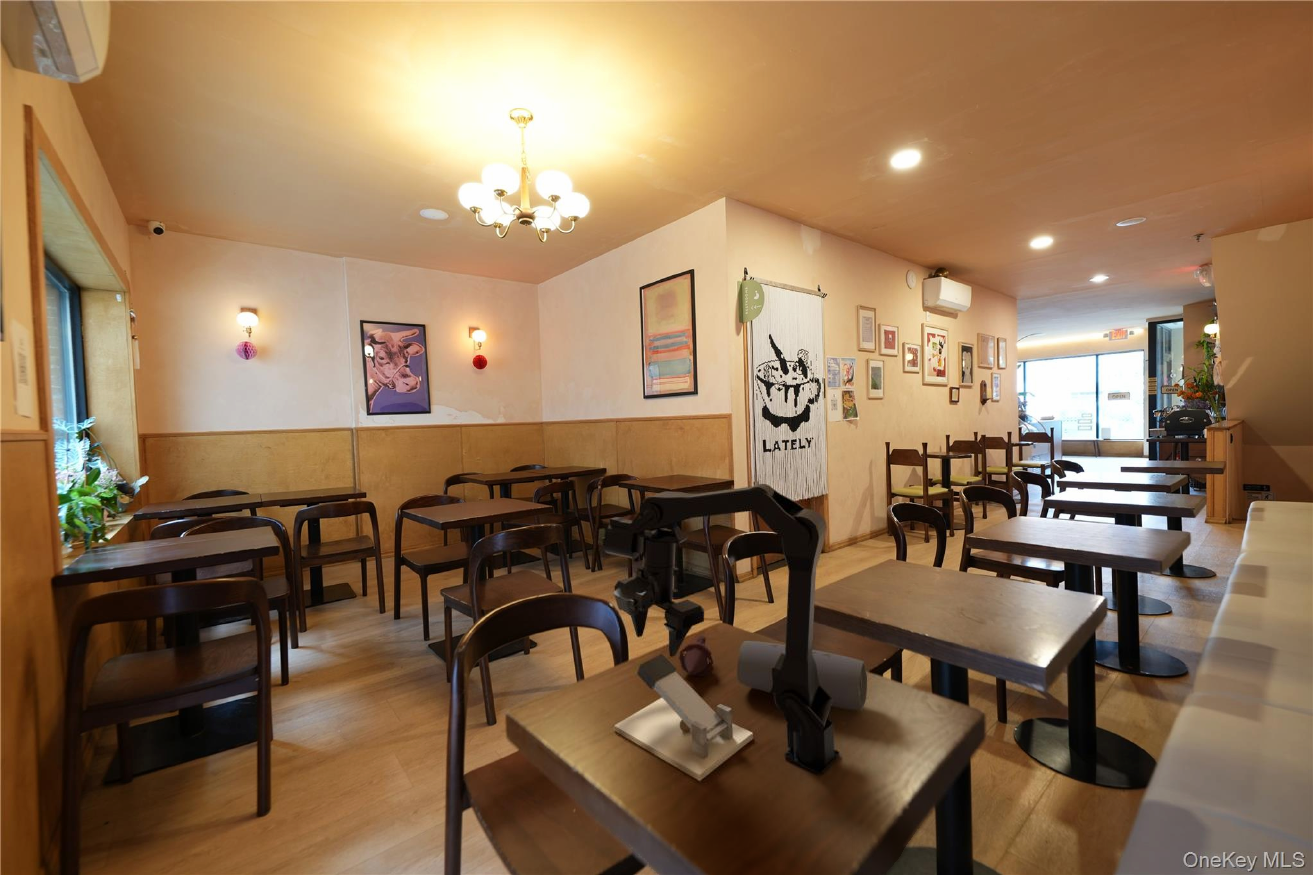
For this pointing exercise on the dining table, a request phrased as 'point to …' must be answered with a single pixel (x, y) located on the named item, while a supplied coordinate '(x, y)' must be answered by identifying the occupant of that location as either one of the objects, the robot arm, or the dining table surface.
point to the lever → (680, 695)
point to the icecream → (696, 658)
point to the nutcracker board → (683, 738)
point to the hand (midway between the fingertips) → (655, 645)
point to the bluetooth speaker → (834, 672)
